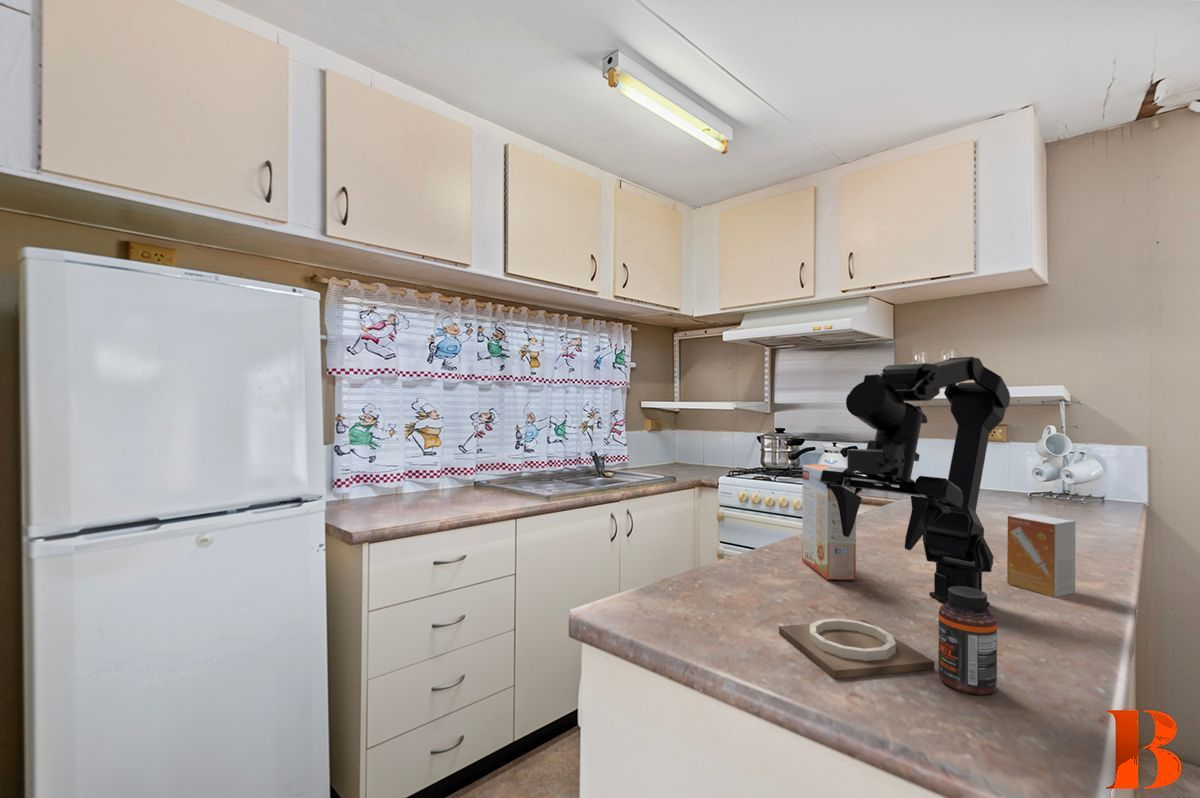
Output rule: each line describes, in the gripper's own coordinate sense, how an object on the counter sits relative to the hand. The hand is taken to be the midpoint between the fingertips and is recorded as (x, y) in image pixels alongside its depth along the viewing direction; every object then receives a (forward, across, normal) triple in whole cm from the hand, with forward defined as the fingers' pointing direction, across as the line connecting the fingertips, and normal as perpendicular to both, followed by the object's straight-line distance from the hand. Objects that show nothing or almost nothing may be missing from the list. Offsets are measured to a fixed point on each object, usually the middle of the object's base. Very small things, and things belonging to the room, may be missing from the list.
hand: (875, 542), depth 82 cm
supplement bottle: (+14, +14, +1) cm, 20 cm away
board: (+15, 0, -1) cm, 15 cm away
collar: (+15, 0, -1) cm, 15 cm away
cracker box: (+4, -23, +27) cm, 36 cm away
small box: (-4, +6, +48) cm, 48 cm away
